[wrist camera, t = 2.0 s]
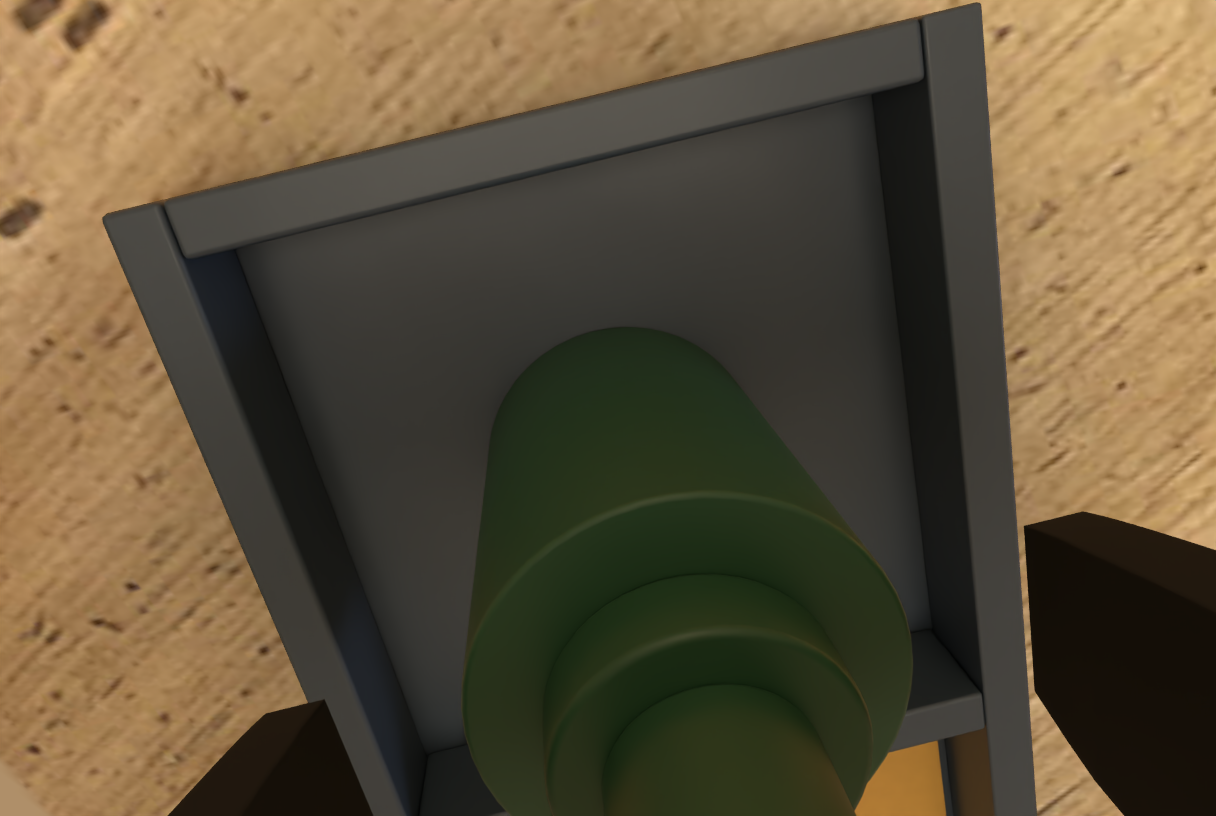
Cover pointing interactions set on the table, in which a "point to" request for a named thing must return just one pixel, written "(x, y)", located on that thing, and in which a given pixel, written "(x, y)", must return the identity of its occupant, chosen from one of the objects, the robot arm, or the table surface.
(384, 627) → the tray
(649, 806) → the bottle
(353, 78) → the table surface
